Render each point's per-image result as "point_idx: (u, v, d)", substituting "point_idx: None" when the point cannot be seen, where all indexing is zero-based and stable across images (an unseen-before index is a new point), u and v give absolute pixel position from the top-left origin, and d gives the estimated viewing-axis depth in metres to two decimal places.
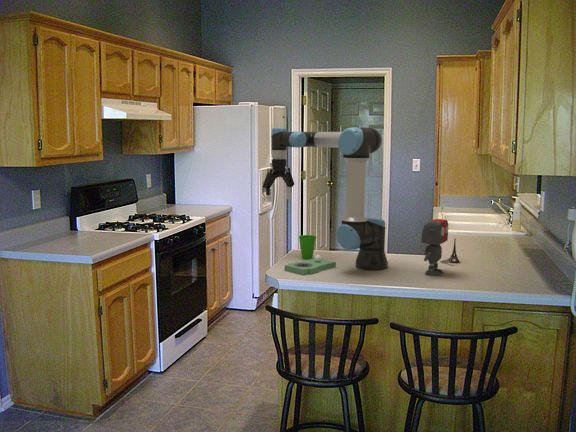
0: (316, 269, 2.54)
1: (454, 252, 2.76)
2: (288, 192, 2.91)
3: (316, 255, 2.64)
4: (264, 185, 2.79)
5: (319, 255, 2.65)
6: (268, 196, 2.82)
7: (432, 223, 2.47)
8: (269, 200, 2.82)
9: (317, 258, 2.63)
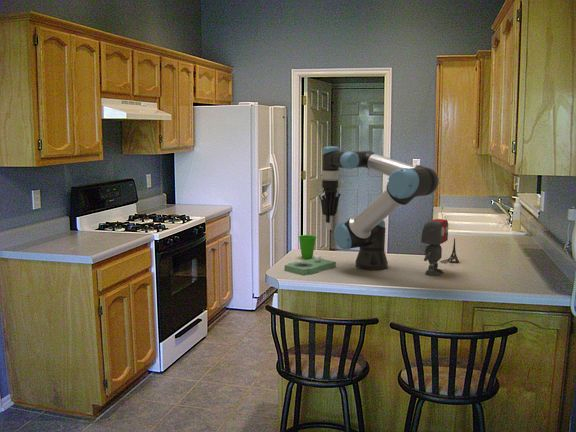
0: (316, 269, 2.54)
1: (454, 252, 2.76)
2: None
3: (316, 255, 2.64)
4: (324, 213, 2.65)
5: (319, 255, 2.65)
6: (328, 223, 2.68)
7: (432, 223, 2.47)
8: (329, 228, 2.68)
9: (317, 258, 2.63)
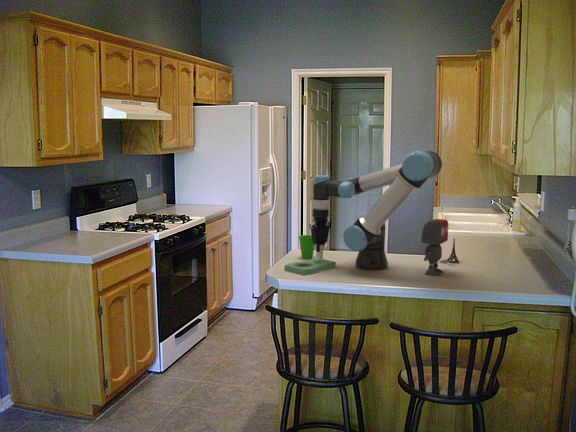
0: (316, 269, 2.54)
1: (453, 252, 2.76)
2: None
3: (314, 256, 2.64)
4: (314, 242, 2.63)
5: (317, 255, 2.64)
6: (318, 252, 2.65)
7: (432, 223, 2.47)
8: None
9: (316, 259, 2.63)
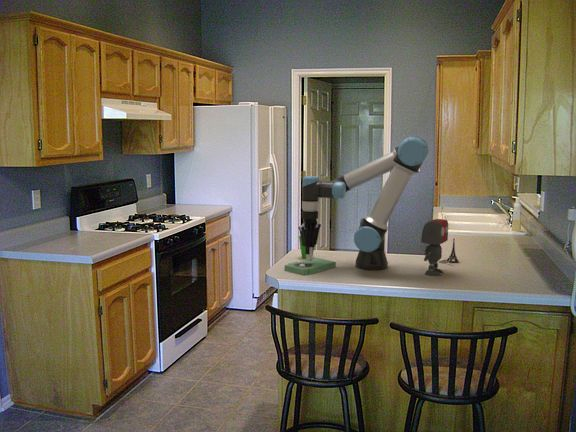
0: (316, 269, 2.54)
1: (453, 252, 2.76)
2: None
3: None
4: (303, 245, 2.57)
5: None
6: (308, 255, 2.60)
7: (432, 223, 2.47)
8: (309, 259, 2.60)
9: None
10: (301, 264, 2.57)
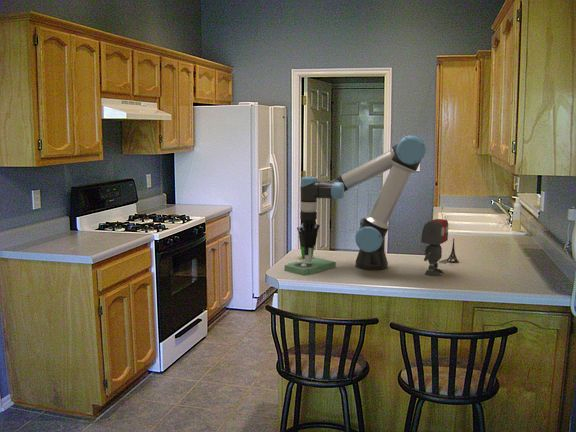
0: (316, 269, 2.54)
1: (453, 252, 2.76)
2: None
3: (303, 264, 2.57)
4: (302, 245, 2.56)
5: (306, 265, 2.58)
6: (306, 256, 2.59)
7: (432, 223, 2.47)
8: (308, 260, 2.59)
9: None
10: None
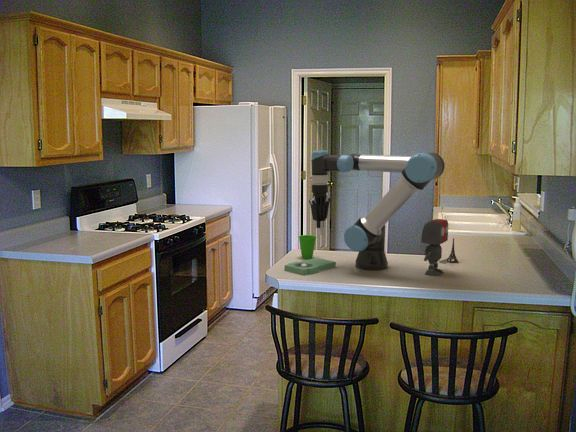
0: (316, 269, 2.54)
1: (453, 252, 2.76)
2: None
3: (303, 264, 2.57)
4: (314, 218, 2.60)
5: (306, 265, 2.58)
6: (318, 229, 2.63)
7: (432, 223, 2.47)
8: (320, 233, 2.63)
9: None
10: (304, 263, 2.59)
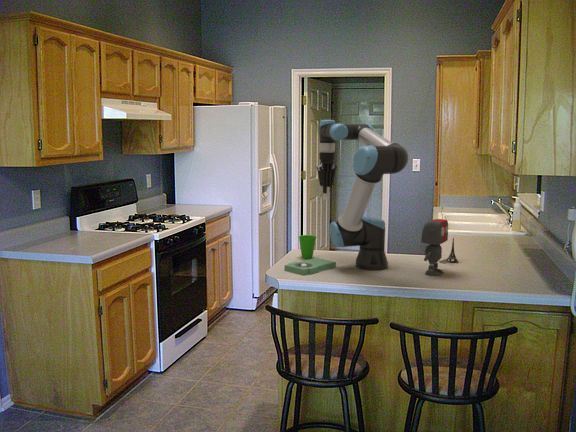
0: (316, 269, 2.54)
1: (452, 252, 2.76)
2: None
3: (303, 264, 2.57)
4: (321, 184, 2.76)
5: (306, 265, 2.58)
6: (325, 194, 2.79)
7: (432, 223, 2.47)
8: (326, 198, 2.79)
9: None
10: None
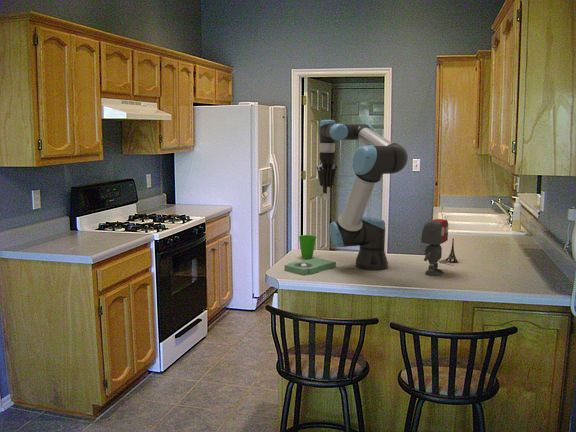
0: (316, 269, 2.54)
1: (452, 252, 2.76)
2: None
3: (303, 265, 2.57)
4: (321, 184, 2.76)
5: (306, 265, 2.58)
6: (325, 194, 2.79)
7: (432, 223, 2.47)
8: (326, 198, 2.79)
9: None
10: None
